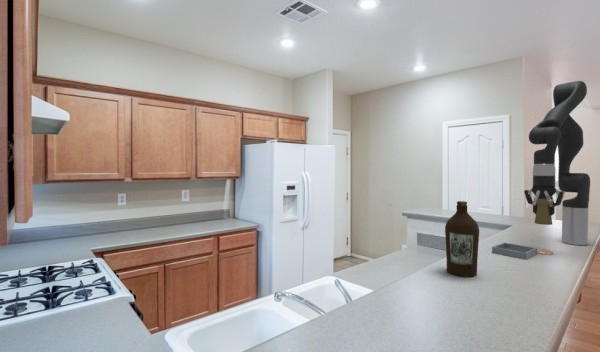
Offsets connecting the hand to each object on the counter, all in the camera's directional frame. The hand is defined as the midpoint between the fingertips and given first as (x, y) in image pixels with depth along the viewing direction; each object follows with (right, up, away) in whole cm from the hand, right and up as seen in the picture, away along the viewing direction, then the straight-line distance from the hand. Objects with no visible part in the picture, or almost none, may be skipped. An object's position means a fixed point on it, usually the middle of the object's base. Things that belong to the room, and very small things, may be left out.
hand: (543, 214), depth 133 cm
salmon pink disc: (0, -16, 0) cm, 16 cm away
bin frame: (-13, -16, -1) cm, 21 cm away
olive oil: (-47, -18, -23) cm, 55 cm away
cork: (0, -4, 0) cm, 4 cm away
